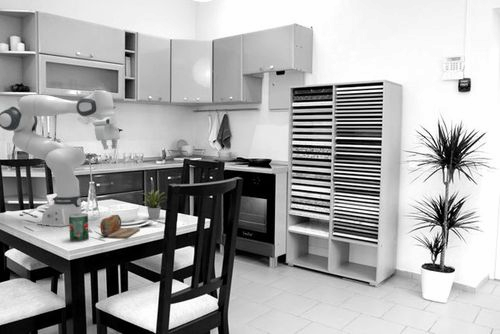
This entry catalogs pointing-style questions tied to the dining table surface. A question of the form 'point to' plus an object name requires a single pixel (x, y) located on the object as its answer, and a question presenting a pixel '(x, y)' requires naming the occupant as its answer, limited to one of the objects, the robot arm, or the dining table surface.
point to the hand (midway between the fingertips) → (110, 148)
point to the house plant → (153, 205)
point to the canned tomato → (78, 227)
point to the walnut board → (124, 233)
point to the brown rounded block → (110, 225)
